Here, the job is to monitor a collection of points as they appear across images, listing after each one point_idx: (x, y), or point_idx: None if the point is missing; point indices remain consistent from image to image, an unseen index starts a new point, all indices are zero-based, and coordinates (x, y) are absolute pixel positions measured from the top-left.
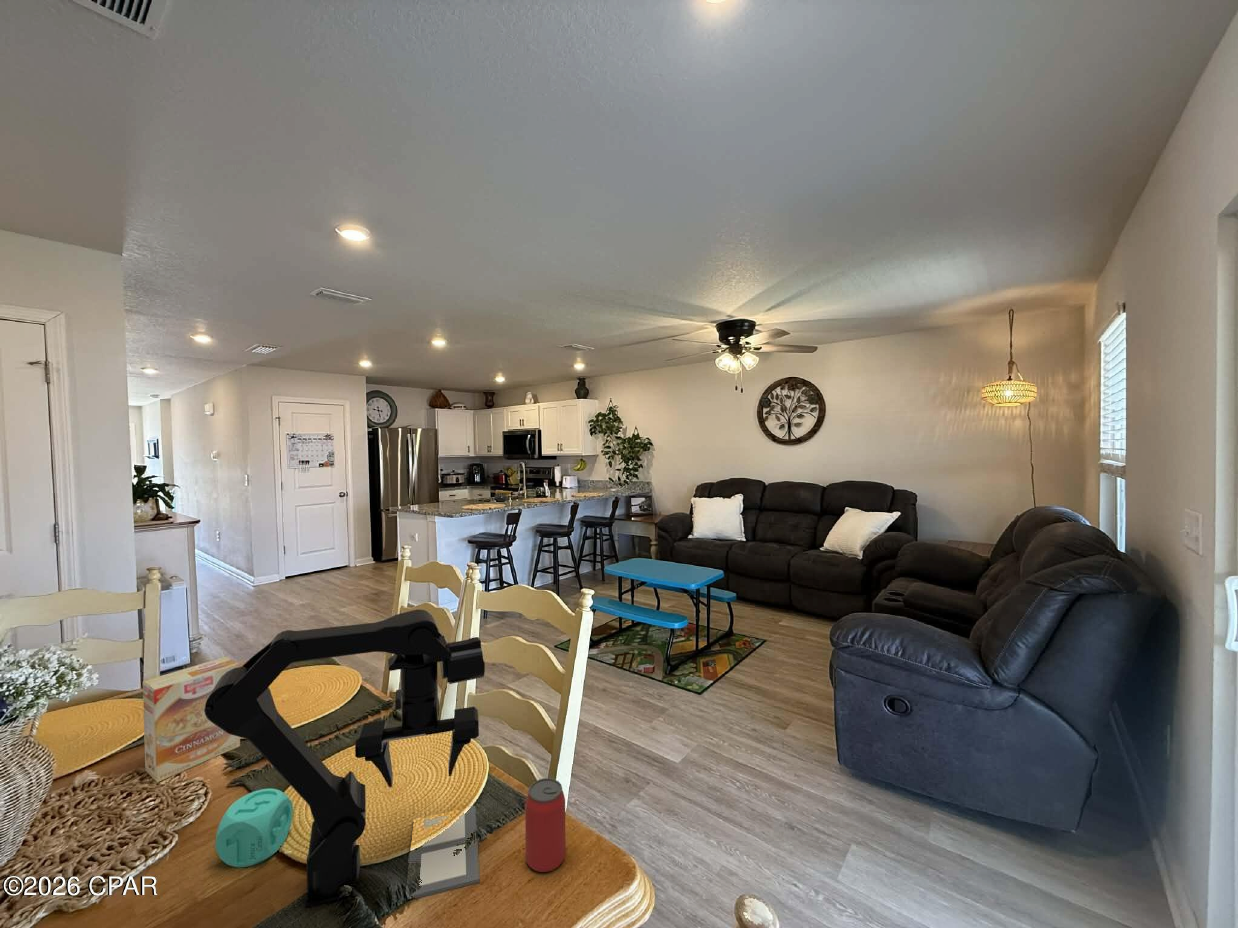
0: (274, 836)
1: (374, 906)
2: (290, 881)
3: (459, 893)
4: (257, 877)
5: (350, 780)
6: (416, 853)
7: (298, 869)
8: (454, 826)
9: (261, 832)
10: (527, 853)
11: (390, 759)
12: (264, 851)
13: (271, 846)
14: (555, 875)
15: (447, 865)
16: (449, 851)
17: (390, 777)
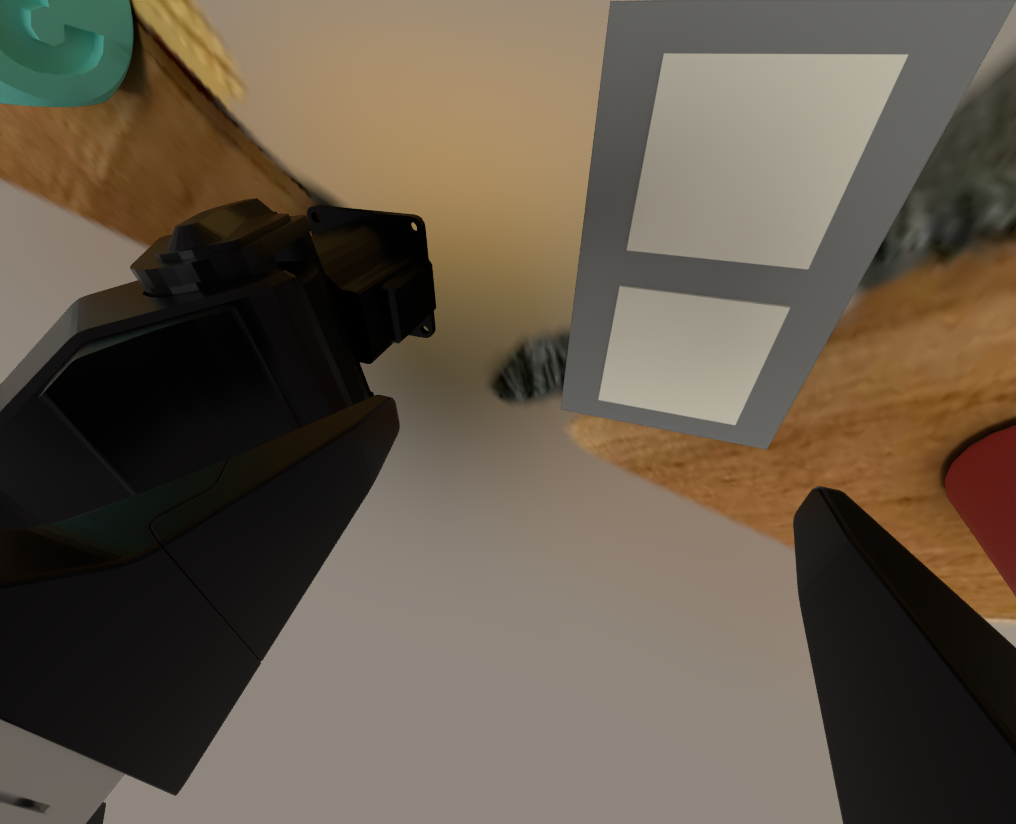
0: (67, 25)
1: (495, 384)
2: None
3: (698, 444)
4: (168, 150)
5: (126, 483)
6: (603, 270)
7: (258, 162)
8: (793, 175)
9: (10, 102)
10: (966, 500)
11: (253, 497)
12: (101, 99)
13: (102, 66)
14: None
15: (691, 372)
16: (717, 319)
17: (355, 510)
